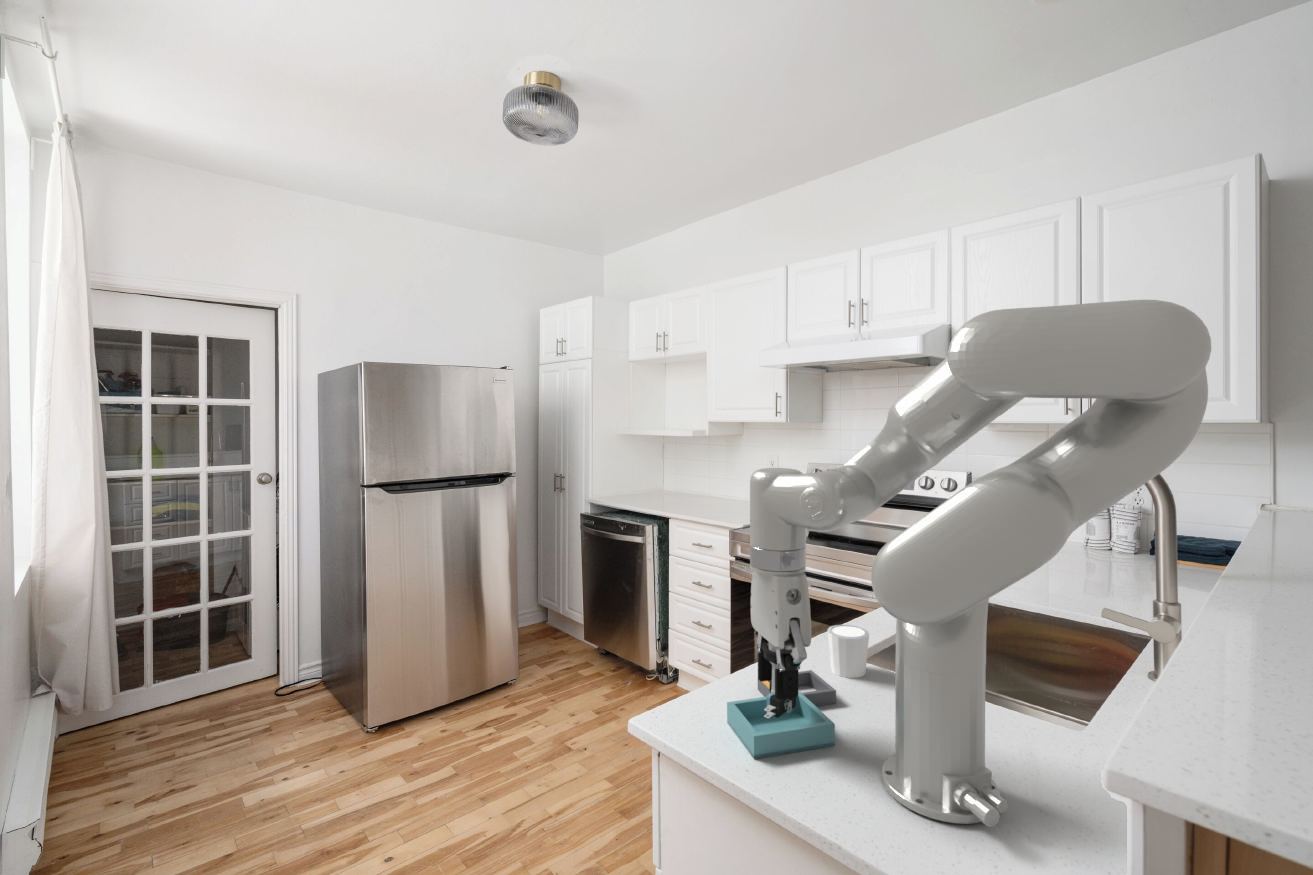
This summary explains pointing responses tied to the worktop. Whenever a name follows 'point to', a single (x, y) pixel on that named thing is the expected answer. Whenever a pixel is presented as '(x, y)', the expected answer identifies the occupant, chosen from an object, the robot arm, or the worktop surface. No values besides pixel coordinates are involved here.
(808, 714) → the tray
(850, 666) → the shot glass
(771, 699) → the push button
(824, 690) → the box
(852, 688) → the worktop surface
